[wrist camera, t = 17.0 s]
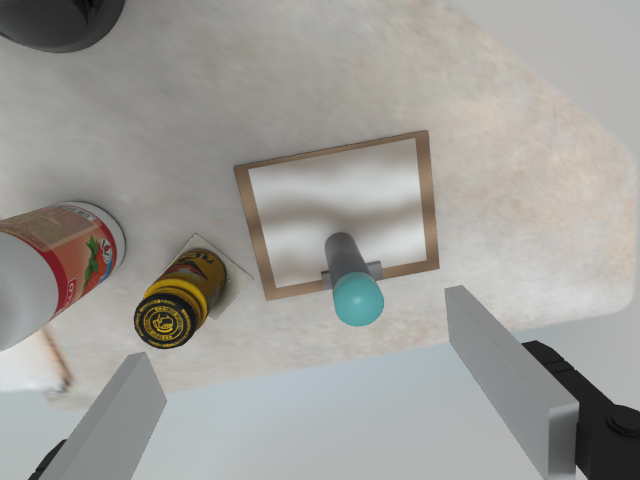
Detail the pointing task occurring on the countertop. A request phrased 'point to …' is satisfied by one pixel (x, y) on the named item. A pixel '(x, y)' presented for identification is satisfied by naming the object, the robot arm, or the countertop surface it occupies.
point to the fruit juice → (52, 264)
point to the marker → (352, 282)
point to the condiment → (188, 294)
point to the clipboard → (341, 211)
